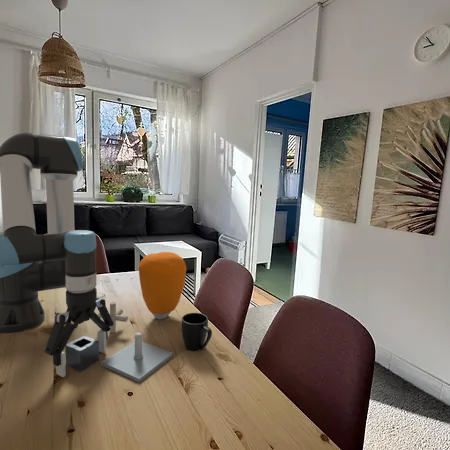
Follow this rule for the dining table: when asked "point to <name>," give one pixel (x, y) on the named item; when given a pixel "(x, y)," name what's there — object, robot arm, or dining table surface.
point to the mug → (195, 331)
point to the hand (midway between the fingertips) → (82, 362)
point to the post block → (137, 359)
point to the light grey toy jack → (115, 316)
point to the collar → (82, 353)
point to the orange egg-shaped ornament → (162, 282)
